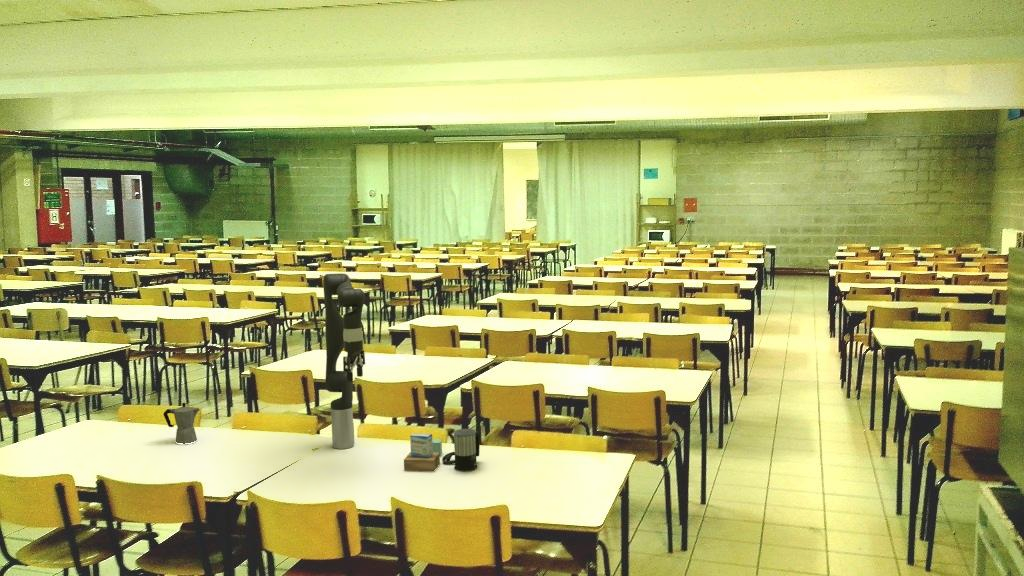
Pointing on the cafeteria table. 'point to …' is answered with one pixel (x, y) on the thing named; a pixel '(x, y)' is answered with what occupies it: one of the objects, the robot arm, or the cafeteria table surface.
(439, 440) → the teal block
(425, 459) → the walnut block
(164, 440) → the cafeteria table surface
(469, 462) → the milk frother
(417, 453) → the medicine box
